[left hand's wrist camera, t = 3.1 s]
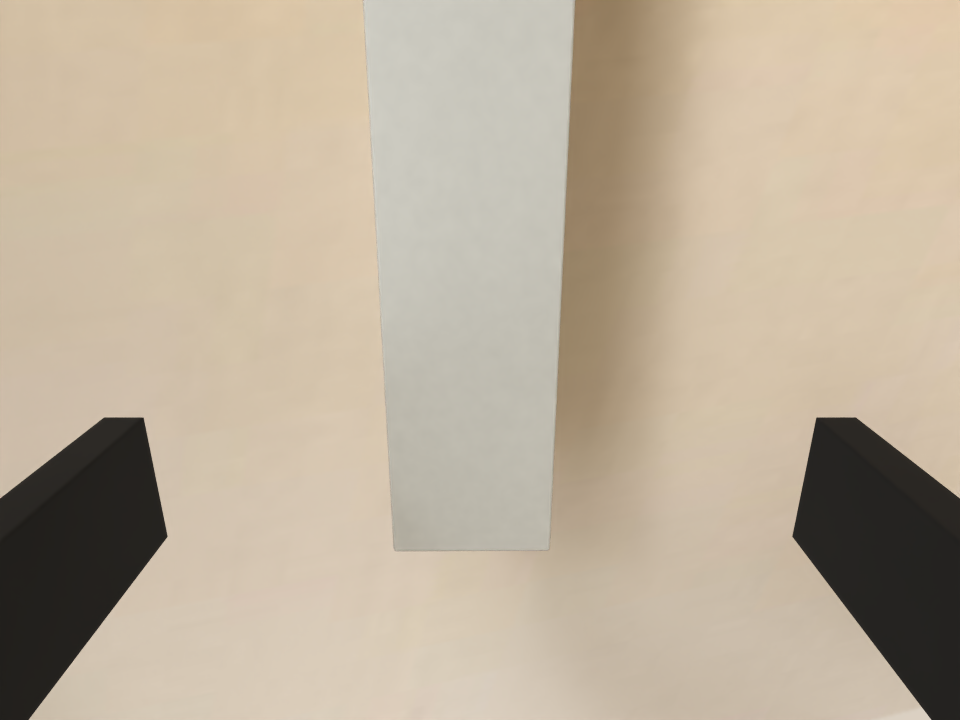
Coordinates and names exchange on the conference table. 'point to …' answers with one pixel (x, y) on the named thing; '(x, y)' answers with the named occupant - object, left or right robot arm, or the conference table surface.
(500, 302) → the bar
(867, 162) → the conference table surface
